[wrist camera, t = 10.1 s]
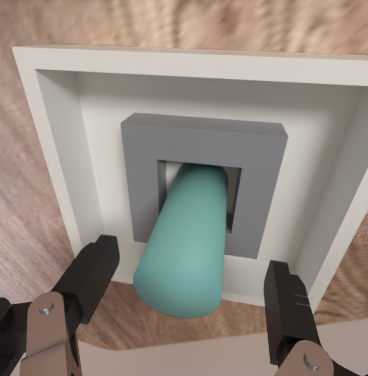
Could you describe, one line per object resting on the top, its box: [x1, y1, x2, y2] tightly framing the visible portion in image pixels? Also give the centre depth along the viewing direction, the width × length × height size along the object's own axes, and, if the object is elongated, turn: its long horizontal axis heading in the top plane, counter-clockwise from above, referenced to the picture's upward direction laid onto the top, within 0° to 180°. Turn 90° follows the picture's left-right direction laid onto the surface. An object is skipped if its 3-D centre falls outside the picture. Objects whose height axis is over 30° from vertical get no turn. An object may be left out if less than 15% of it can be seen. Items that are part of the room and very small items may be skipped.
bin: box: [12, 44, 368, 314], centre depth 18 cm, size 20×18×4 cm
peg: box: [133, 162, 228, 318], centre depth 15 cm, size 4×4×10 cm
